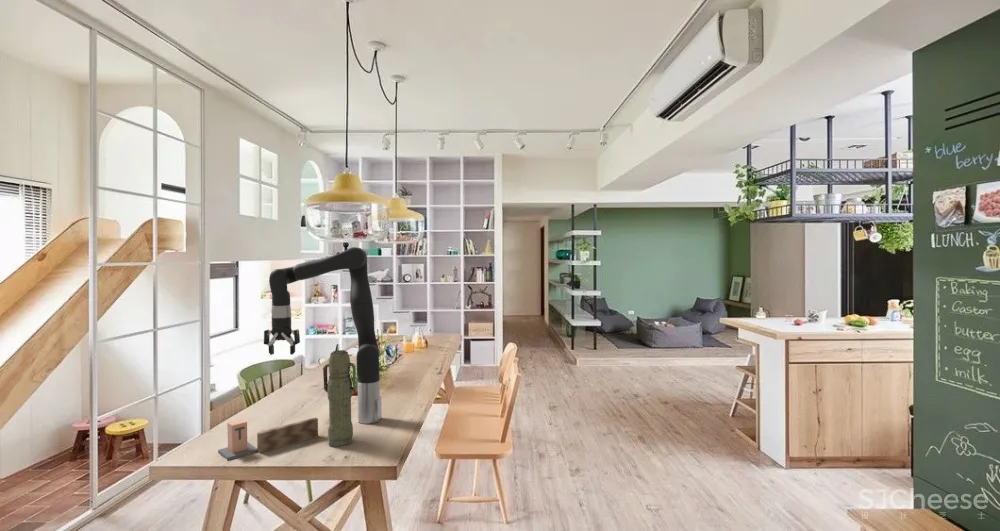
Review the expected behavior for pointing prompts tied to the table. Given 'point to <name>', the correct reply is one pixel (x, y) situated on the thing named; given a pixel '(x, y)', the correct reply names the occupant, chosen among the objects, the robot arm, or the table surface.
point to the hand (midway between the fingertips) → (282, 354)
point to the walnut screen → (287, 434)
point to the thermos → (339, 398)
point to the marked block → (237, 435)
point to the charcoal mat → (229, 455)
